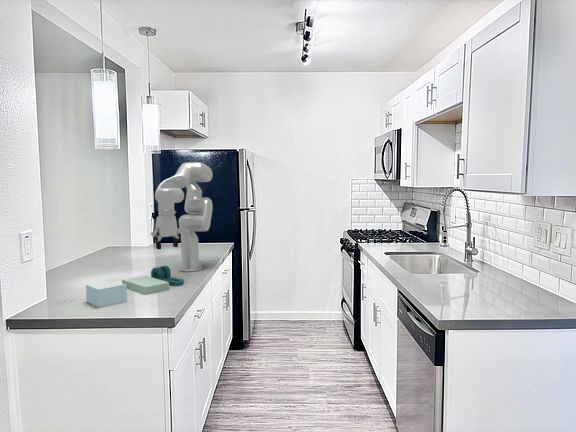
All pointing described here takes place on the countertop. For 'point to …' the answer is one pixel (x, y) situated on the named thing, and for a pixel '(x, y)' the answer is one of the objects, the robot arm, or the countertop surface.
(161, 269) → the bracket
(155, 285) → the base plate
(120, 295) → the l-shaped corner panel
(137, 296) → the countertop surface
